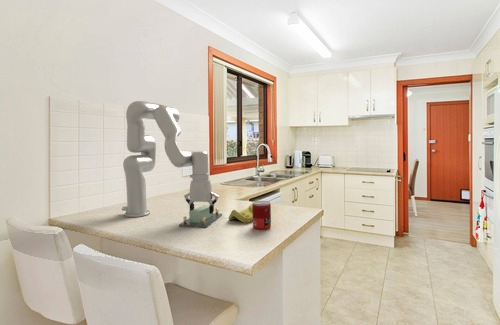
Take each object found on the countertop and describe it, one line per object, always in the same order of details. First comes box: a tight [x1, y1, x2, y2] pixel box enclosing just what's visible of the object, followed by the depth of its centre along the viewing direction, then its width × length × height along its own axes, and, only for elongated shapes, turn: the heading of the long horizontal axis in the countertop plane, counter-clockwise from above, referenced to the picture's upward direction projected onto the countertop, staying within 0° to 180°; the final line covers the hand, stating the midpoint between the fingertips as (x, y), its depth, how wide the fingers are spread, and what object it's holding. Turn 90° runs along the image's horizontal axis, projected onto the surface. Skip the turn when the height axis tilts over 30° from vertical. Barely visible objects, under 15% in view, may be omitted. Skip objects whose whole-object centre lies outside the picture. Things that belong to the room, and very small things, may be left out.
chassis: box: [178, 207, 223, 229], centre depth 141 cm, size 13×22×4 cm, turn 167°
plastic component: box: [228, 199, 260, 224], centre depth 145 cm, size 20×7×10 cm
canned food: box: [251, 200, 272, 231], centre depth 128 cm, size 8×8×11 cm
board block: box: [188, 204, 214, 223], centre depth 141 cm, size 5×14×5 cm, turn 160°
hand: (201, 212), depth 141 cm, fingers open, 9 cm apart
